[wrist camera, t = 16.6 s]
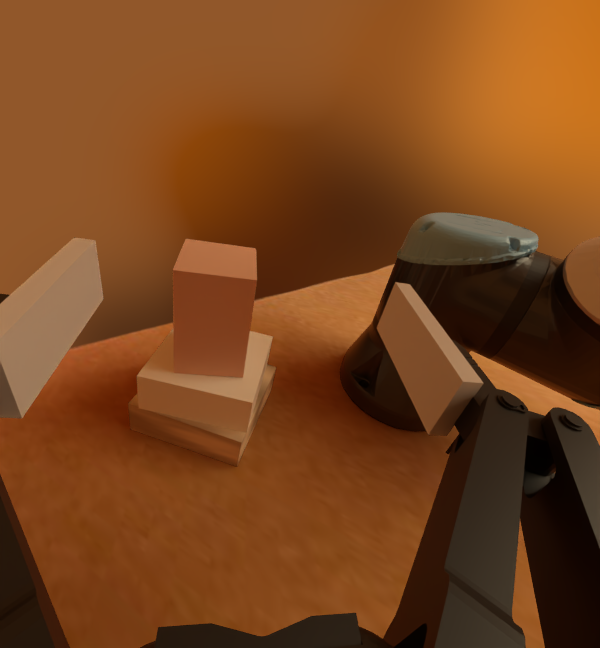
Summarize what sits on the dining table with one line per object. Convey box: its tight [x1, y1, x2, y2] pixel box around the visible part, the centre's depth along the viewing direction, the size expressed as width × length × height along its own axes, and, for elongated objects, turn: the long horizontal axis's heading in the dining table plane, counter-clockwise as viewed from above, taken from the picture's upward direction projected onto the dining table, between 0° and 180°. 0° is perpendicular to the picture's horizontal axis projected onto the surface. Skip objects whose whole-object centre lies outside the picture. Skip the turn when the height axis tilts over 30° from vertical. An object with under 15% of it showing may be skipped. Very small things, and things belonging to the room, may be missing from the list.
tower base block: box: [128, 364, 276, 467], centre depth 36 cm, size 11×11×4 cm
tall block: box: [173, 239, 257, 377], centre depth 30 cm, size 6×6×10 cm
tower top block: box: [137, 329, 273, 433], centre depth 34 cm, size 10×10×4 cm
